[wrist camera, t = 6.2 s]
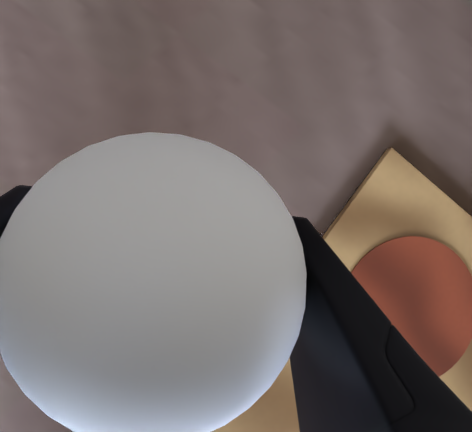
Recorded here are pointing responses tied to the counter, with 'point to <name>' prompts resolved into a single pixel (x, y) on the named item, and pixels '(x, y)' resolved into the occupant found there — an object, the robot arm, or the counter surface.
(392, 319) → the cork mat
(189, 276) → the lightbulb
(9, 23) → the counter surface
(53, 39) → the counter surface
